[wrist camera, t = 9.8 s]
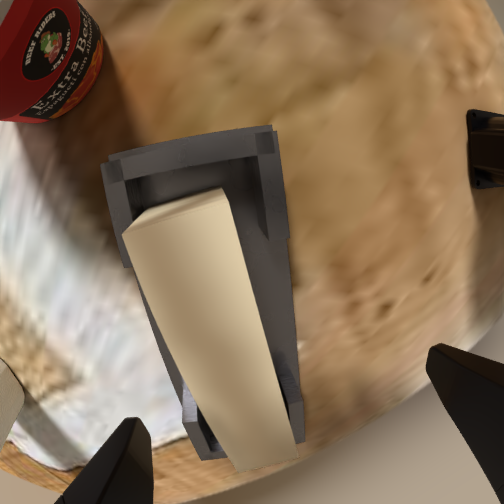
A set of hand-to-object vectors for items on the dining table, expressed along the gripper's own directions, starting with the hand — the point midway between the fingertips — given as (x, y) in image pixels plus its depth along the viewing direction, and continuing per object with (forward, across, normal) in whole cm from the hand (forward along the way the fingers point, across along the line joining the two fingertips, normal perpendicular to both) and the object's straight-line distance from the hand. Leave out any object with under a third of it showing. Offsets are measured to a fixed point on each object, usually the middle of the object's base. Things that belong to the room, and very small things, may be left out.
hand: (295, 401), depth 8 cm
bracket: (+12, +2, +3) cm, 12 cm away
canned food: (+12, +10, -15) cm, 21 cm away
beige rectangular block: (+11, +2, +3) cm, 11 cm away
